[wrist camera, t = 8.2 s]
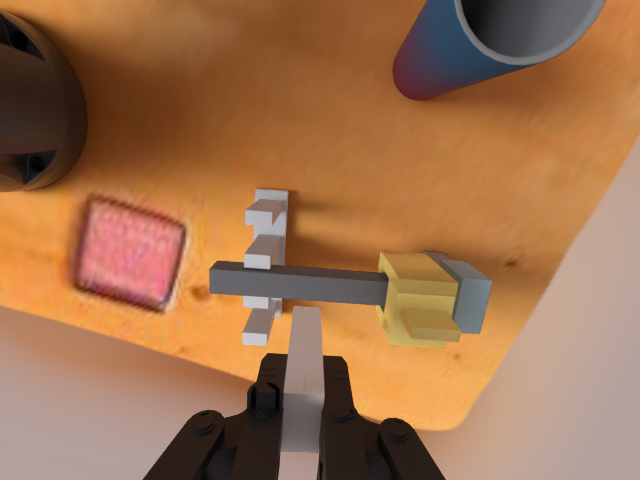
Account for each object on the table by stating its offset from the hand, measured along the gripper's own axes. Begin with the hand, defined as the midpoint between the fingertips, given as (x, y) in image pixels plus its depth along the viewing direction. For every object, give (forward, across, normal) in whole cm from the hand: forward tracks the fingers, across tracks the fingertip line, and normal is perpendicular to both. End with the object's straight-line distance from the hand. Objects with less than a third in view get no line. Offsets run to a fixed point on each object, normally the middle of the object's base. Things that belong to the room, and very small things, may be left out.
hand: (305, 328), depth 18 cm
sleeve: (+10, +8, -1) cm, 13 cm away
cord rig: (+15, +4, -1) cm, 15 cm away
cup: (+15, +9, +17) cm, 24 cm away
